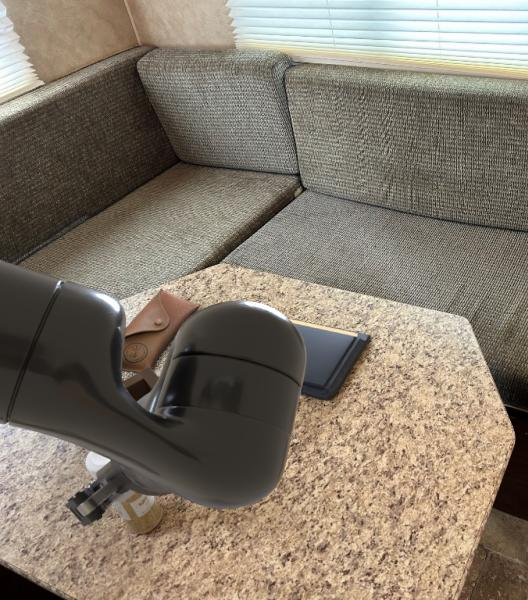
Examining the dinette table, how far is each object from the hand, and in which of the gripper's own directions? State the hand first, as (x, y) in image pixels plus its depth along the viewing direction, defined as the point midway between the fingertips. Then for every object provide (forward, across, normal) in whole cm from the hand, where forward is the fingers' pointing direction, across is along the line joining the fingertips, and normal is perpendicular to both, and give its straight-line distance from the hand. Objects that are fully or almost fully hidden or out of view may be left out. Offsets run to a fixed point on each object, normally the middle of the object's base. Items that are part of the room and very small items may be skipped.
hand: (138, 461), depth 58 cm
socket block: (+31, -9, -2) cm, 33 cm away
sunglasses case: (+44, -22, -14) cm, 51 cm away
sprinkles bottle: (+23, 0, +7) cm, 24 cm away
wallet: (+26, -32, +4) cm, 42 cm away
